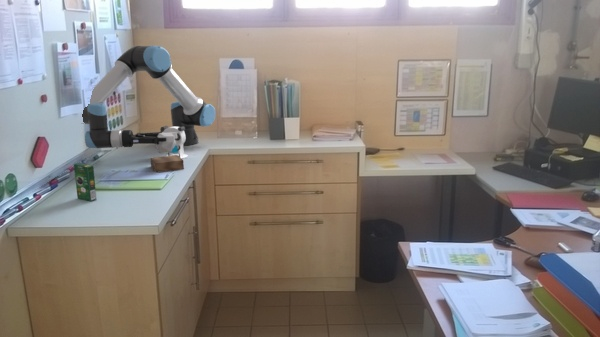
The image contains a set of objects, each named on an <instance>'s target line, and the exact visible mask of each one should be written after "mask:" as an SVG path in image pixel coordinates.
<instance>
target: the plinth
mask: <svg viewBox="0 0 600 337" xmlns="http://www.w3.org/2000/svg"><path fill="white" fill-rule="evenodd" d="M150 166H151V168H152V169H153V170H154V171H155V173H159V172H158V171H163V172H170V171H169V170H171V171H178V170H179V171H180V170H184V169H185V167H184V166H185V165H184V159H181V158H180V157H179V156H178V155H172V156H167V155H164V156H156V157H155V156H154V157H150Z"/></svg>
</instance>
